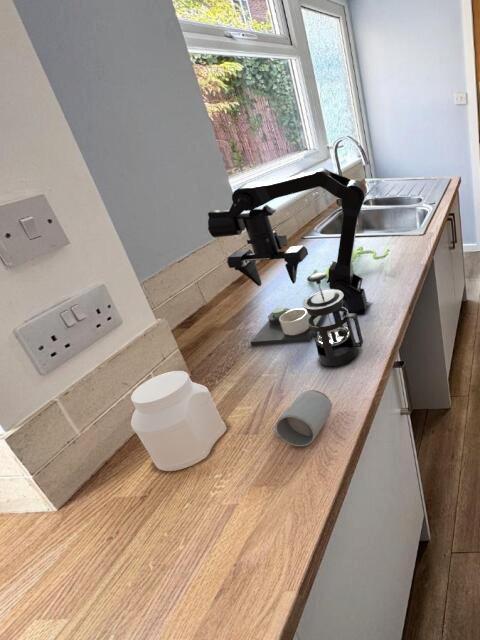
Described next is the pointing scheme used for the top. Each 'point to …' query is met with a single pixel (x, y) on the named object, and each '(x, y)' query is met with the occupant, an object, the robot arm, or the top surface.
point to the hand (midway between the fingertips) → (277, 284)
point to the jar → (175, 420)
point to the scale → (281, 333)
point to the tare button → (278, 312)
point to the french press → (332, 326)
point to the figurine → (354, 256)
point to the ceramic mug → (304, 418)
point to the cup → (294, 321)
